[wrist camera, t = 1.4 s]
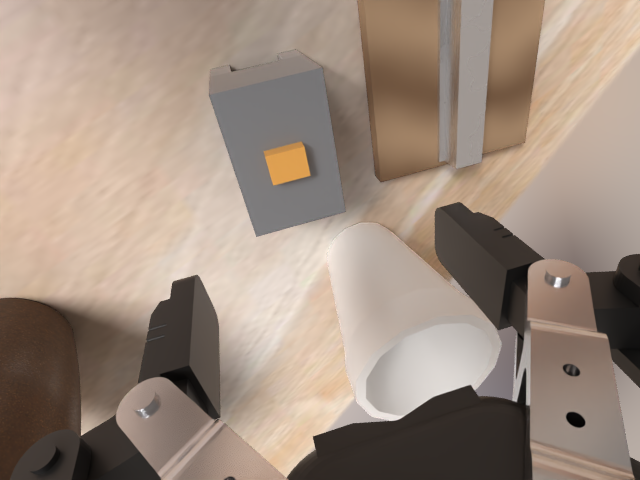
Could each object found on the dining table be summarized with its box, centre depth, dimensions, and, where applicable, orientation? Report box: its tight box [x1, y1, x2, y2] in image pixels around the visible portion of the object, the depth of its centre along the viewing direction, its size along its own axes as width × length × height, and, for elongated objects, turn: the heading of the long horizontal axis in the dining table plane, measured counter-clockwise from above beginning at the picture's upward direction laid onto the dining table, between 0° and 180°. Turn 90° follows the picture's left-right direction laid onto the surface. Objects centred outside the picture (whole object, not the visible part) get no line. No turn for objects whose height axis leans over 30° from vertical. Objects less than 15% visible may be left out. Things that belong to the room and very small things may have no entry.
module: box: [209, 49, 346, 237], centre depth 22 cm, size 8×5×8 cm
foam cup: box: [327, 222, 502, 421], centre depth 28 cm, size 10×9×13 cm
